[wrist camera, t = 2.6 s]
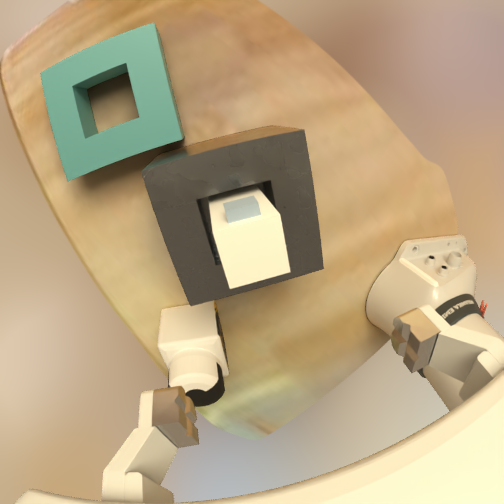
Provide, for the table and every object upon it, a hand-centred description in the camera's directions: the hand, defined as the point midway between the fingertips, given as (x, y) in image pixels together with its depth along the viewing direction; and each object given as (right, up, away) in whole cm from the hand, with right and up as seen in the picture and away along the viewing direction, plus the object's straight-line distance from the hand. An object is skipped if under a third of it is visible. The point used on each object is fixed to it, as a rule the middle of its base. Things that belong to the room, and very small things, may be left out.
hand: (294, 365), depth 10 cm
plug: (-3, +8, +16) cm, 18 cm away
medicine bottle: (-9, -6, +28) cm, 30 cm away
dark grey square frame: (-4, +10, +21) cm, 24 cm away
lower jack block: (-15, +19, +15) cm, 29 cm away
